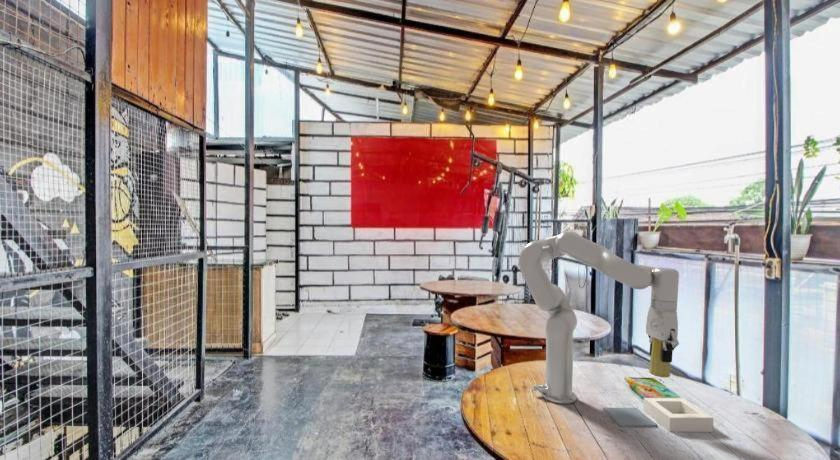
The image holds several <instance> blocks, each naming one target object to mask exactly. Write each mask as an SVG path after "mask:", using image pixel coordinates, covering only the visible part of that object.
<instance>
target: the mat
mask: <svg viewBox="0 0 840 460" xmlns="http://www.w3.org/2000/svg"><path fill="white" fill-rule="evenodd" d="M602 410H603V411H604V412H605V413H606V414H607V415H608V416H609V417H610V418H611V419H612V420H613V421H614V422H616V424H618V425H619V426H620V427H621V428H643V427H644V428H658V424H657V422H654V421H653V420H652V419H651V418H650V417H649V416H647V415H646V413H643V412H642V411H641V410H640V409H639V408H638V407H602Z"/></svg>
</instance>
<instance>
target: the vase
mask: <svg viewBox="0 0 840 460" xmlns="http://www.w3.org/2000/svg"><path fill="white" fill-rule="evenodd" d="M668 340H669V339H668ZM668 344H669V342H667V345H668ZM662 350H664V348H663V341H660V340H658V339H656V338H654V337H653V340H652V351H651V355H650V361H649V370H648V373H650V375H652V376H655V377H659V378H670V377H671V362H662V361H661V359H662Z"/></svg>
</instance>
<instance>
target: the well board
mask: <svg viewBox="0 0 840 460" xmlns="http://www.w3.org/2000/svg"><path fill="white" fill-rule="evenodd" d="M643 412H645V414H647V415H648V417H649V416H650V417H651V418H652V419H653V420H654V421H656V423H659V425H661V427H663V428H664V429H666V430H667V431H668V432H669V433H672V432H673V433H676V432H677V433H679V432H681V433H682V432H683V433H688V432H689V433H697V432H698V433H701V432H704V433H706V432H707V433H709V432H710V433H711V432H712V433H713V432H714V417H713V416H712V415H710V414H708V413H707V412H706V411H704V410H702V409H701V408H699V407H697V406H696V405H694V404H693V403H691V402H689V400H686V399H685V398H684V397H681V398H644V400H643Z"/></svg>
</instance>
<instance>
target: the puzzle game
mask: <svg viewBox="0 0 840 460" xmlns="http://www.w3.org/2000/svg"><path fill="white" fill-rule="evenodd" d="M623 380H624V382H625V383H627V384H628V385H629V388H630V389H631V391H633V393H635V395H637V396H638V397H640V398H641V399H642V400H643V401H644V398H682V396H680V395H679V394H677V393H676V392H675V391H673V390H671V389H670V388H669V387H667V386H666V385H664V384H663V383H662V382H660V381H659V380H657V379H656V378H655V377H643V376H642V377H641V376H640V377H639V376H638V377H637V376H623Z"/></svg>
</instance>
